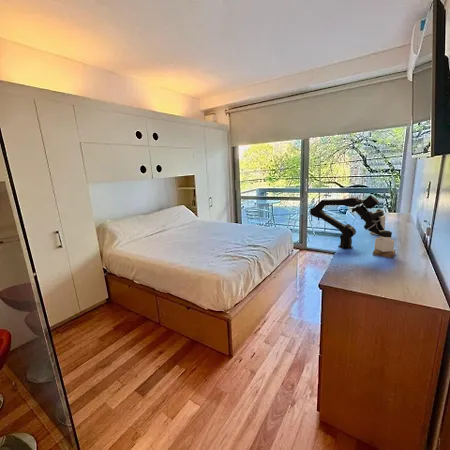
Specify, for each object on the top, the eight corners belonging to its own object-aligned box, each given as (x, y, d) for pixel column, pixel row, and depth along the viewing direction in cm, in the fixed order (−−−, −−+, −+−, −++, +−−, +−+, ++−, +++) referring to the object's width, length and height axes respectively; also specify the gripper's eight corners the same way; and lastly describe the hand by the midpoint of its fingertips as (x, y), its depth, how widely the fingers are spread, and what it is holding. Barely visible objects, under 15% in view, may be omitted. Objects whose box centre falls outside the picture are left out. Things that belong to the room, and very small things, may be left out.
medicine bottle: (393, 251, 146) (396, 231, 144) (383, 252, 145) (385, 232, 143) (384, 248, 153) (386, 229, 151) (373, 248, 152) (376, 229, 149)
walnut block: (372, 255, 149) (373, 251, 148) (376, 251, 156) (376, 246, 156) (392, 259, 143) (393, 254, 142) (394, 254, 150) (395, 249, 149)
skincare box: (384, 234, 189) (386, 215, 186) (380, 236, 186) (382, 216, 183) (372, 232, 196) (374, 214, 193) (369, 233, 193) (371, 215, 190)
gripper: (372, 207, 140) (392, 229, 136) (379, 203, 154) (397, 222, 149) (356, 219, 147) (374, 240, 143) (363, 214, 161) (381, 233, 156)
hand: (382, 233), depth 148 cm, fingers open, 9 cm apart
